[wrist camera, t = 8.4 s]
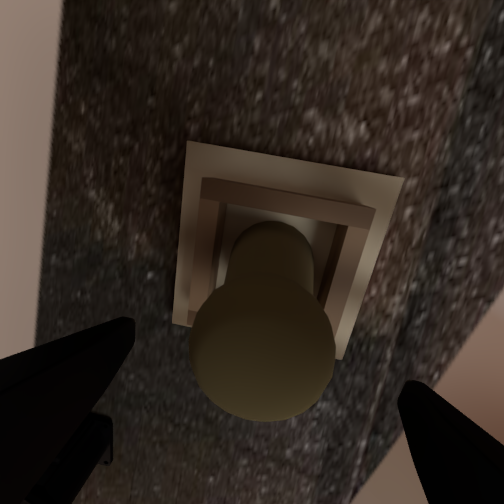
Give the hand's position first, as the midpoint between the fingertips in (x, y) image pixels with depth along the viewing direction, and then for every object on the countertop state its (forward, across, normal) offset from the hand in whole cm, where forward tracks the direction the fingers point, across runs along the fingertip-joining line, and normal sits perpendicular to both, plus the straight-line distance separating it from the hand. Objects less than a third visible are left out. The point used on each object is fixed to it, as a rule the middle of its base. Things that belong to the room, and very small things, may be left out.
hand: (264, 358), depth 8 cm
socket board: (+11, 0, 0) cm, 11 cm away
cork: (+10, 0, 0) cm, 10 cm away
